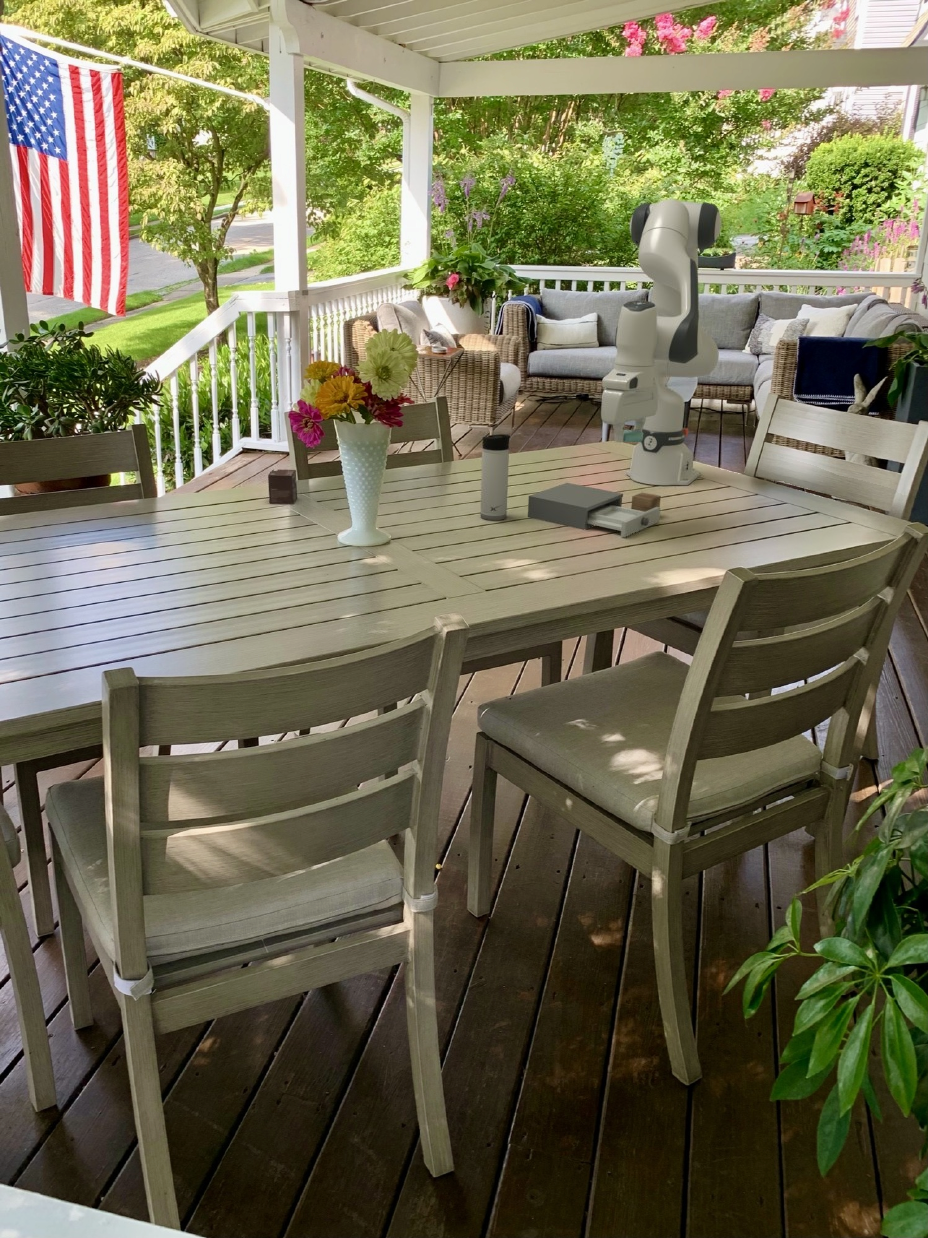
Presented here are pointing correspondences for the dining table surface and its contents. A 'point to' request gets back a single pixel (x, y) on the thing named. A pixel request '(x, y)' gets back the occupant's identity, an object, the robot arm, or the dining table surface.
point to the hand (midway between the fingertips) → (628, 439)
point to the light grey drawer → (623, 518)
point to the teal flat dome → (633, 436)
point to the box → (282, 486)
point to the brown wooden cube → (645, 501)
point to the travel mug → (494, 477)
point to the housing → (570, 504)
